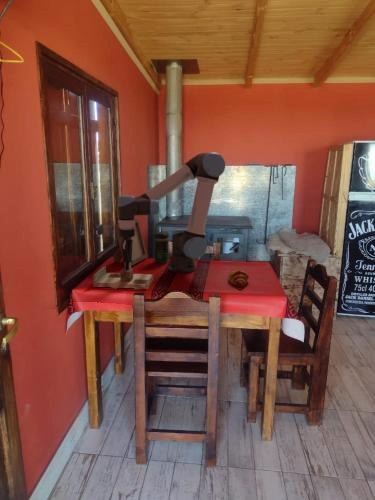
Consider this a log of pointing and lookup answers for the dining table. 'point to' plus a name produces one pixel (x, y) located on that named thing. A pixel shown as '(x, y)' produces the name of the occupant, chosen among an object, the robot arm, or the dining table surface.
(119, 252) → the photo frame
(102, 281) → the trap board
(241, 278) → the croissant
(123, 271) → the walnut block
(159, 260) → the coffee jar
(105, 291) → the dining table surface
